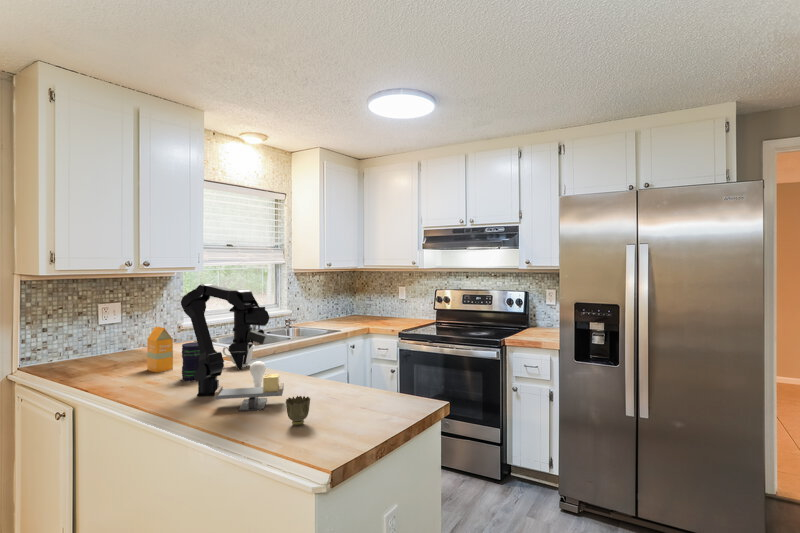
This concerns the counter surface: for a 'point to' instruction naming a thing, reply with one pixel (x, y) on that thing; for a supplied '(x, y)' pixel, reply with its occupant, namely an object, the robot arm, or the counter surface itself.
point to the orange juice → (159, 350)
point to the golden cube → (271, 382)
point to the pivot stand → (253, 404)
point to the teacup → (247, 355)
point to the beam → (246, 392)
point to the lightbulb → (257, 372)
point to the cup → (297, 409)
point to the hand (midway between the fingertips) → (242, 366)
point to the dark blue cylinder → (190, 360)
